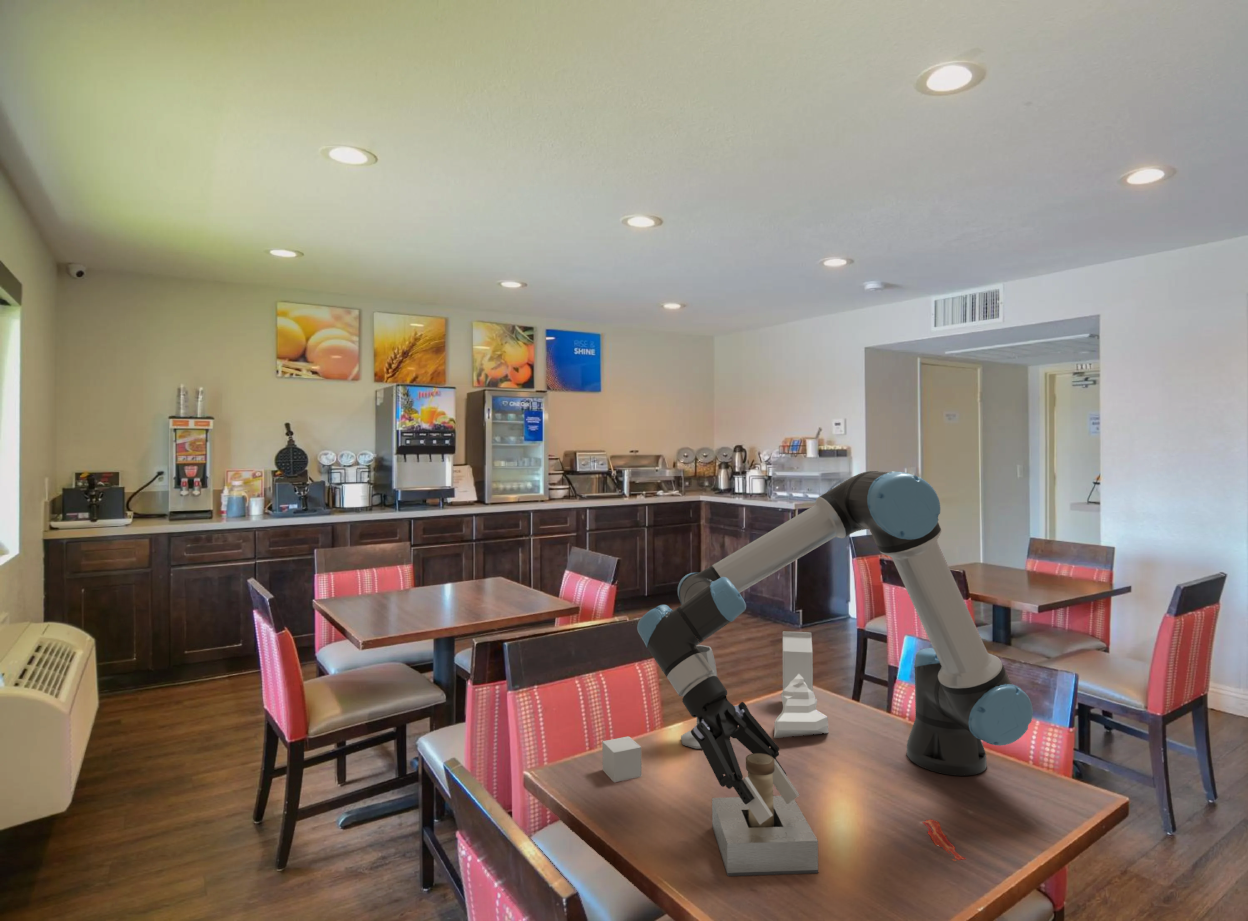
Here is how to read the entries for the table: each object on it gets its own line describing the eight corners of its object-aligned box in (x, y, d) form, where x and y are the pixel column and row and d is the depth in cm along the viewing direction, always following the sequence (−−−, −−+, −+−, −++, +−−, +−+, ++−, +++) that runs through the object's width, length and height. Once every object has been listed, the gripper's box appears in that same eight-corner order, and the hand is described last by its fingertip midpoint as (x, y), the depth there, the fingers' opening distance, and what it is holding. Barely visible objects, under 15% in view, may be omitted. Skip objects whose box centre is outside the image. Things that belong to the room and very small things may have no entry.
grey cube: (602, 770, 141) (602, 741, 141) (629, 764, 143) (628, 736, 143) (614, 782, 135) (613, 752, 135) (641, 776, 138) (641, 746, 138)
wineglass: (676, 747, 151) (675, 652, 151) (685, 732, 160) (684, 641, 159) (715, 752, 148) (714, 655, 148) (722, 736, 157) (721, 644, 157)
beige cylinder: (772, 836, 115) (770, 752, 115) (779, 852, 110) (777, 764, 110) (744, 838, 114) (743, 753, 115) (750, 853, 110) (749, 765, 110)
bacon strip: (947, 863, 108) (947, 859, 108) (909, 813, 123) (909, 810, 123) (971, 863, 108) (971, 859, 108) (930, 813, 123) (930, 809, 123)
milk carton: (813, 712, 171) (812, 636, 171) (783, 710, 172) (783, 635, 172) (811, 702, 178) (810, 629, 178) (782, 700, 179) (782, 628, 179)
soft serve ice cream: (756, 734, 162) (755, 671, 165) (815, 734, 164) (813, 672, 168) (778, 742, 150) (776, 674, 153) (841, 742, 152) (838, 675, 156)
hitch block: (792, 824, 119) (792, 795, 119) (818, 873, 105) (817, 840, 105) (712, 826, 119) (712, 797, 119) (727, 876, 105) (727, 843, 105)
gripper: (719, 683, 130) (797, 796, 119) (648, 714, 115) (730, 847, 104) (743, 661, 126) (825, 775, 116) (672, 689, 111) (760, 824, 100)
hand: (780, 809), depth 110 cm, fingers open, 8 cm apart
